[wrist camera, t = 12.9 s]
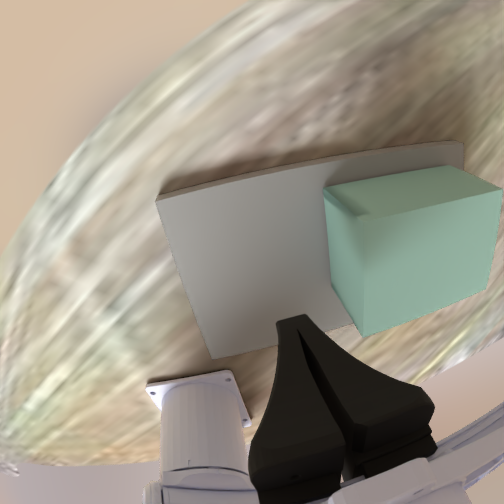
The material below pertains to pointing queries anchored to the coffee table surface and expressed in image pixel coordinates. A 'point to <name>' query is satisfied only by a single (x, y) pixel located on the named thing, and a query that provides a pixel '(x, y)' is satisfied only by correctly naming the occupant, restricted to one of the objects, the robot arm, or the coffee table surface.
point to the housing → (410, 243)
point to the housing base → (271, 242)
